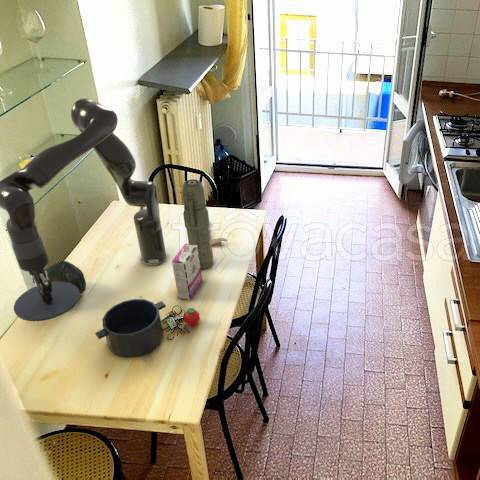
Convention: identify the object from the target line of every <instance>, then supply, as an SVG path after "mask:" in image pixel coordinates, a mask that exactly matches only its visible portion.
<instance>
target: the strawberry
mask: <svg viewBox="0 0 480 480" xmlns="http://www.w3.org/2000/svg"><path fill="white" fill-rule="evenodd" d="M200 317H201V316H200V313H199V311H198V310H196V309H195V308H194V307H189V308H187V309H186V311H185V313H184V315H183V319H184V322H185V323H186V324H187V326H188V327H189V328H195V327H197V326H198V323H199V321H200Z"/></svg>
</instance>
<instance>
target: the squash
mask: <svg viewBox="0 0 480 480" xmlns="http://www.w3.org/2000/svg"><path fill="white" fill-rule="evenodd" d="M45 269H46V271H47V273H48V275H47V276H48V279H50V280H51V282H67V283H71V284H73V285H75V286H76V287H77V288H78V290H79V294H80V296H81V295H82V294H84V293H85V291H86V290H87V282H86V281H87V280H86V277H85V275H84V273H83V271H82V269H80V268H79V266H78V267H77V266H76V265H75V264H73V263H71V262H70V261H67V260H61V261H57V262H55V263H53V264H52V265H50V266H49V267H48V268H45Z"/></svg>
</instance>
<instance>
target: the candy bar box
mask: <svg viewBox="0 0 480 480" xmlns="http://www.w3.org/2000/svg"><path fill="white" fill-rule="evenodd" d="M171 264H172V265H171V266H172V269H173V275H174V280H175V285H176V292H177V297H178V299H181V300H188V301H191V300H192V299H193V297H194V295H195V294H196V293H197V291H198V290H199V288H200V286H201V284H202V283H203V277H202V276H203V275H202V274H203V273H202V270H201V268H200V260H199V253H198V247H197V245H192V244H189V243H184V245H183V246H182V247H181V249H180V250H179V251H178V252H177V254H176V255H175V256H174V258H173V259H172V260H171Z"/></svg>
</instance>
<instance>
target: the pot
mask: <svg viewBox="0 0 480 480" xmlns="http://www.w3.org/2000/svg"><path fill="white" fill-rule="evenodd" d="M166 307H167V305H166V304H165V302H163V301H162V300H160V301H159V302H156V303H155V302H153V301H150V300H148V299H145V298H144V299H142V298H132V299H128V300H124V301H121V302H119V303H117V304H115V305H113V306H112V307H110V309H108V310H107V311H106V312H105V314H104V316H103V317H102V319H101V322H102V329H100V330H98V331H96V332H94V334H95V336H96V337H97V339H98V340H102V339H103V338H106V339H105V341H106V343H107V347H108V349H109V351H110V352H111V353H112V354H113V355H115V356H117V357H119V358H123V359H134V358H140V357H143V356H146V355H148V354H150V353H151V352H153V351H155V350H156V349H157V348H158V347H159V346H160V345H161V344H162V342H163V339H164V330H163V326H162V320H161V314H160V310H162V309H164V308H166Z"/></svg>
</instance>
